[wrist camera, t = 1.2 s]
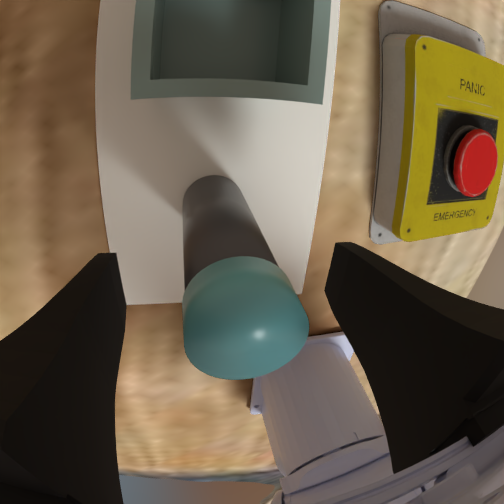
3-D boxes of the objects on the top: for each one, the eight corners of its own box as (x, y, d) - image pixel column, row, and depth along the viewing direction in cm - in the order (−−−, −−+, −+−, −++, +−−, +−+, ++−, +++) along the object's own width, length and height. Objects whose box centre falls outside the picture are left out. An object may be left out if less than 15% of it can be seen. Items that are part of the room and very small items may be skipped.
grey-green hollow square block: (283, 96, 13) (322, 104, 10) (147, 94, 12) (130, 99, 8) (292, -20, 10) (333, -50, 6) (156, -28, 9) (146, -68, 5)
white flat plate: (300, 291, 20) (301, 293, 19) (121, 302, 17) (120, 305, 17) (339, -16, 10) (340, -16, 10) (105, -29, 8) (104, -30, 8)
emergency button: (400, 281, 16) (423, -15, 8) (363, 241, 19) (371, -2, 11) (495, 254, 17) (526, 40, 9) (458, 226, 21) (478, 35, 13)
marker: (243, 232, 16) (298, 371, 9) (181, 234, 16) (189, 384, 8) (247, 172, 15) (320, 286, 7) (179, 173, 14) (178, 296, 7)
